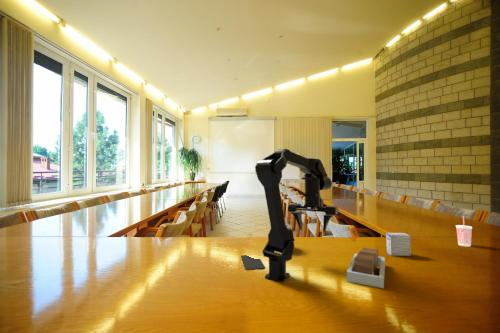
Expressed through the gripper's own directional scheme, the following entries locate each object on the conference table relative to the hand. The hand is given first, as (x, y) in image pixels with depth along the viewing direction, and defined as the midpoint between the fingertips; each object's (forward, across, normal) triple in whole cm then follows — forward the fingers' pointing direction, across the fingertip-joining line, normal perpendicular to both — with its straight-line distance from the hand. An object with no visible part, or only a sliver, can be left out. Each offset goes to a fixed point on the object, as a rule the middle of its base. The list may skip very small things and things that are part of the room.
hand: (312, 230), depth 98 cm
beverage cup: (+12, -56, -58) cm, 82 cm away
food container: (+12, +17, -12) cm, 24 cm away
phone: (+13, +20, +12) cm, 27 cm away
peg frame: (+12, -20, +2) cm, 23 cm away
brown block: (+10, -19, +2) cm, 22 cm away
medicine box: (+12, -29, -27) cm, 41 cm away
